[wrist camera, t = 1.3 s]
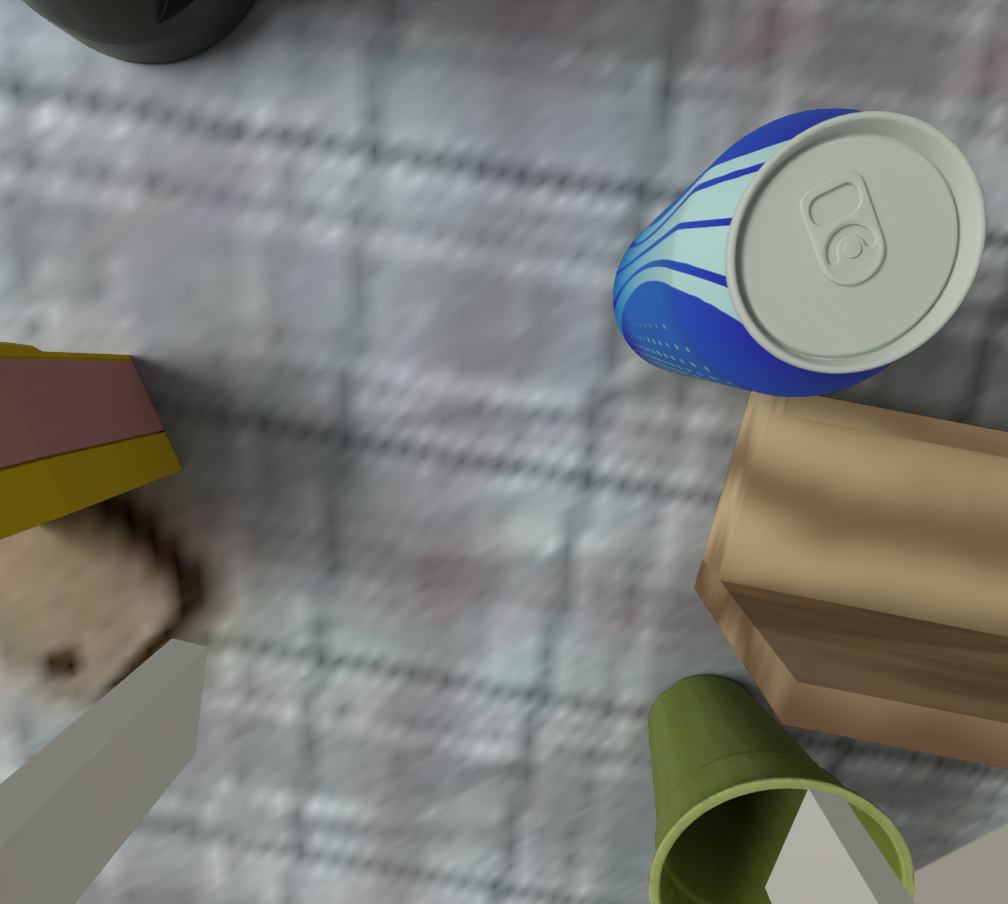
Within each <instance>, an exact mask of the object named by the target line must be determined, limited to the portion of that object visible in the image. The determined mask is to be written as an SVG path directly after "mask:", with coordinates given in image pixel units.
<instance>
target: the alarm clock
mask: <svg viewBox="0 0 1008 904" xmlns="http://www.w3.org/2000/svg"><path fill="white" fill-rule="evenodd" d="M163 430H164V428H163V426H162V424H161V422H160V419H159V417H158V415H157V413H156V411H155V409H154V406H153V404H152V402H151V400H150V398H149V396H148V393H147V391H146V389H145V387H144V385H143V383H142V380H141V378H140V376H139V374H138V372H137V370H136V367H135V365H134V363H133V361H131V357H130V355H114V354H89V353H65V352H42V351H41V350H39V349H37V348H35V347H33V346H29V345H22V344H15V343H8V342H0V540H1V539H3V538H6V537H9V536H11V535H14V534H17V533H20V532H22V531H25V530H28V529H30V528H33V527H36V526H38V525H41V524H44V523H46V522H49V521H52V520H55V519H57V518H60V517H63V516H65V515H68V514H71V513H73V512H76V511H78V510H81V509H83V508H86V507H89V506H91V505H94V504H96V503H99V502H101V501H104V500H107V499H109V498H112V497H114V496H117V495H119V494H122V493H125V492H127V491H130V490H132V489H135V488H137V487H140V486H143V485H145V484H148V483H150V482H153V481H155V480H158V479H161V478H163V477H166V476H168V475H171V474H173V473H176V472H179V471H181V470H183V469H182V467H181V465H180V463H179V461H178V459H177V456H176V454H175V452H174V450H173V448H172V446H171V443H170V441H169V439H168V437H167V435H166V432H163V433H160V431H163Z"/></svg>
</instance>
